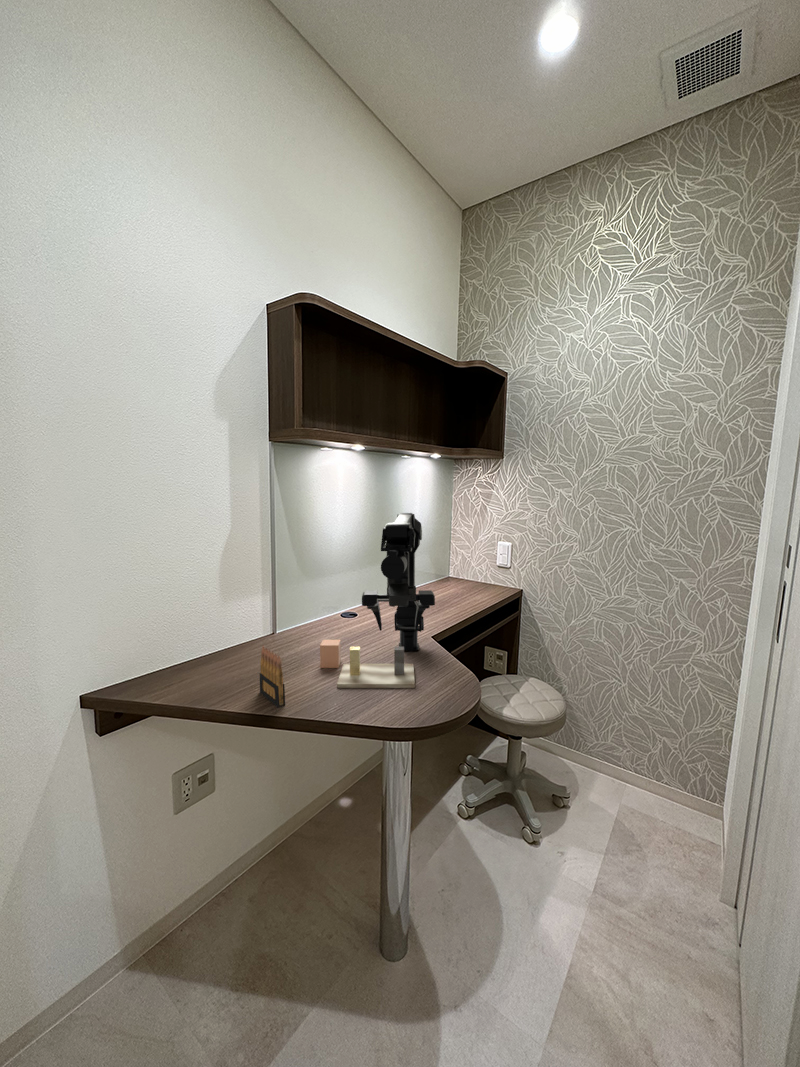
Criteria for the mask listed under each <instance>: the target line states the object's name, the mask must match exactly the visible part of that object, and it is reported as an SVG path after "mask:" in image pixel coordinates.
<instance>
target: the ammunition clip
mask: <svg viewBox="0 0 800 1067" xmlns="http://www.w3.org/2000/svg"><path fill="white" fill-rule="evenodd" d="M260 652H261V653H260V672H259V693H260V694H261V695H262V696H263V697H264V698H266V699H267V700H268V701H270V702H271V703H272V704H273V705H274V706H275V707H277V708H281V707H284V706H286V692H285V691H286V690H285V684H284V674H283V668H282V660H281V657H280V655H277V653H274V652H273V651H271V650H270V649H268V648H267V647H266V648H265V646H264V645H262V648H261V651H260Z"/></svg>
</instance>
